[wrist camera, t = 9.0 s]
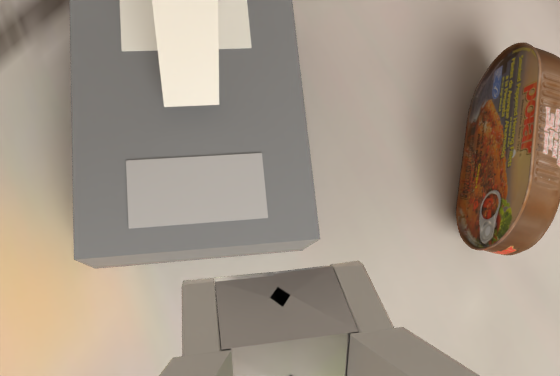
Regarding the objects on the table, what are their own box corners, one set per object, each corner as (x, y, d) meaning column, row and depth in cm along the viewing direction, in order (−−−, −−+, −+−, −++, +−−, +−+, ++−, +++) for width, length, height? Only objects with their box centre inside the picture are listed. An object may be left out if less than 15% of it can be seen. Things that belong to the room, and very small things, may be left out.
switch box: (301, 250, 37) (320, 238, 31) (95, 268, 35) (73, 259, 29) (276, 19, 41) (288, -30, 35) (88, 22, 39) (68, -29, 33)
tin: (473, 73, 43) (536, 16, 35) (509, 83, 43) (580, 29, 35) (448, 255, 39) (513, 239, 31) (488, 265, 39) (563, 252, 31)
